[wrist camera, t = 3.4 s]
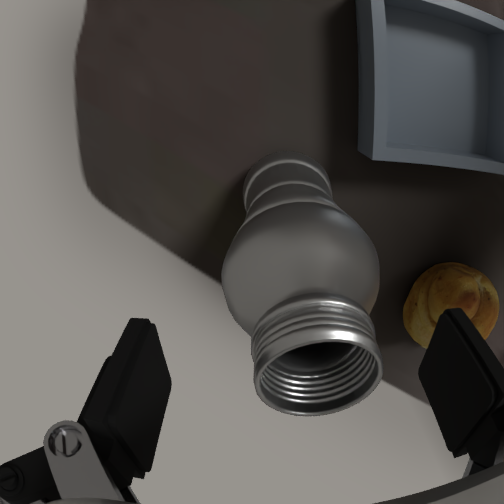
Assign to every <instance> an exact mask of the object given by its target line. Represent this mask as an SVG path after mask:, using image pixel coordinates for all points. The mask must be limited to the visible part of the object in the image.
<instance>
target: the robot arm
mask: <svg viewBox="0 0 504 504" xmlns="http://www.w3.org/2000/svg"><path fill="white" fill-rule="evenodd" d="M418 375H419V379H420V381H421V383H422V386H423V388H424V390H425V393H426V395H427V397H428V400H429V402H430V405H431V407H432V410H433V412H434V414H435V417H436V419H437V422H438V425H439V427H440V430H441V432H442V435H443V438H444V440H445V443H446V446H447V448H448V450H449V451H451V452H452V453H453V456H454V458H456V457H459V456H462V455H465V454H467V453H468V454H469V456H470V458H469V461H468V464H467V467H466V469H465V472H464V475H463V477H462V479H459V480H457V481H454V482H451V483H448V484H445V485H442V486H439V487H436V488H433V489H430V490H426V491H423V492H419V493H416V494H412V495H408V496H405V497H401V498H396V499H392V500H388V501H383V502H379V503H374V504H504V369H503V367H502V365H501V364H500V362H499V361H498V359H497V358H496V356H495V355H494V353H493V352H492V350H491V349H490V347H489V346H488V344H487V343H486V341H485V340H484V338H483V337H482V336H481V334H480V333H479V331H478V330H477V328H476V327H475V326H474V324H473V323H472V322H471V320H470V319H469V317H468V316H467V315H466V313H465V312H464V311H463V310H462V309H461V308H450V309H445V310H444V312H443V314H441V315H440V316H439V319H438V321H437V324H436V327H435V330H434V332H433V335H432V338H431V340H430V343H429V345H428V348H427V350H426V353H425V355H424V358H423V360H422V362H421V365H420V367H419V371H418ZM171 385H172V384H171V377H170V374H169V371H168V367H167V364H166V361H165V357H164V354H163V350H162V347H161V344H160V340H159V336H158V333H157V329H156V326H155V324H153V323H150V321H149V319H143V318H131V319H130V320H129V322H128V324H127V326H126V328H125V330H124V332H123V334H122V336H121V338H120V340H119V342H118V344H117V346H116V348H115V350H114V352H113V354H112V356H109V357H108V358H107V359H106V360H105V362H104V364H103V366H102V368H101V370H100V372H99V374H98V377H97V379H96V381H95V383H94V385H93V387H92V389H91V391H90V394H89V396H88V398H87V400H86V402H85V405H84V407H83V409H82V411H81V414H80V416H79V418H78V421H77V422H74V421H61V422H58V423H56V424H54V425H53V426H52V427H51V428H50V429H49V430H48V431H47V433H46V435H45V437H44V442H43V443H44V446H43V447H41V448H38V449H36V450H34V451H32V452H29V453H27V454H25V455H22V456H20V457H18V458H16V459H13V460H11V461H8V462H6V463H4V464H2V465H1V466H0V504H140V502H139V501H138V499H137V497H136V496H135V494H134V493H133V491H132V489H131V487H130V485H131V483H132V479H133V477H135V478H141V479H144V476H145V472H150V470H151V468H152V464H153V459H154V455H155V451H156V447H157V443H158V439H159V434H160V430H161V426H162V422H163V418H164V414H165V410H166V406H167V403H168V399H169V395H170V391H171Z"/></svg>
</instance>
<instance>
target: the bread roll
mask: <svg viewBox="0 0 504 504" xmlns="http://www.w3.org/2000/svg"><path fill="white" fill-rule="evenodd" d="M450 308H461V309H462V310H463V311H464V312H465V313H466V315H467V316H468V317H469V319H470V320H471V322H472V323H473V324H474V326H475V327H476V328H477V330H478V331H479V333H480V334H481V336H482V337H483V338H484V340H485V339H486V338H487V337H488V335H489V334H490V332H491V331H492V329H493V327H494V326H495V323H496V321H497V318H498V312H499V300H498V295H497V292H496V290H495V288H494V286H493V284H492V282H491V281H490V280H489V279H488V278H487V277H486V276H485V275H484V274H483V273H482V272H480V271H479V270H477V269H475V268H473V267H471V266H468V265H465V264H461V263H456V262H445V263H439V264H435V265H434V266H433V267H431V268H429V269H428V270H426V271H425V272H424V273H422V274H421V276H420V277H419V278H418V279H417V280H416V281H415V283H414V285H413V287H412V289H411V290H410V292H409V295H408V297H407V299H406V302H405V304H404V307H403V321H404V326H405V328H406V330H407V331H408V333H409V334H410V336H411V337H412V338H413V340H414V341H416V342H417V343H418V344H420V345H421V346H422V347H423V348H428V345H429V343H430V340H431V338H432V335H433V332H434V330H435V327H436V324H437V321H438V319H439V316H440V315H441V314H443V312H444V310H445V309H450Z"/></svg>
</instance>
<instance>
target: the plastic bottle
mask: <svg viewBox="0 0 504 504" xmlns="http://www.w3.org/2000/svg"><path fill="white" fill-rule="evenodd" d="M332 197H333V196H332V188H331V183H330V180H329V177H328V175H327V173H326V171H325V170H324V168H323V167H322V166H321V165H320V164H319V163H318V162H317V161H316V160H314V159H313V158H311V157H309V156H307V155H305V154H303V153H298V152H294V151H281V152H275V153H273V154H270V155H267V156H266V157H264V158H262V159H260V160H259V161H258V162H257V163H256V164H255V165H253V167H252V168H251V169H250V171H249V172H248V174H247V176H246V178H245V180H244V185H243V201H244V206H245V210H246V214H247V215H246V217H245V220H244V223H243V224H242V226H241V227H240V229H239V231H238V232H237V234H236V235H235V237H234V238H233V240H232V243H231V245H230V247H229V249H228V252H227V254H226V257H225V259H224V263H223V267H222V272H221V276H222V288H223V291H224V295H225V298H226V301H227V305H228V308H229V311H230V312H231V314H232V316H233V317H234V319H235V321H236V322H237V323H238V324H239V325H240V326H241V327H242V329H243V330H245V331H246V332H247V333H248V334H249V335H250V336H251V338H252V339H251V355H252V358H253V362H254V384H255V389H256V392H257V395H258V396H259V397H260V399H261V400H262V401H263V402H264V403H265V404H266V405H268V406H269V407H271V408H273V409H275V410H277V411H280V412H283V413H286V414H290V415H296V416H320V415H327V414H331V413H335V412H339V411H341V410H344V409H347V408H349V407H351V406H353V405H355V404H357V403H359V402H360V401H362V400H363V399H365V398H366V397H367V396H368V395H370V394H371V392H372V391H374V389H375V388H376V387H377V385H378V384H379V382H380V380H381V378H382V376H383V369H384V367H383V360H382V355H381V352H380V350H379V347H378V345H377V342H376V333H375V328H374V325H373V323H372V321H371V318H370V316H369V314H370V312H371V310H372V308H373V306H374V304H375V301H376V299H377V295H378V291H379V282H380V271H379V260H378V255H377V251H376V249H375V247H374V245H373V243H372V241H371V239H370V237H369V236H368V235H367V234H366V233H365V232H364V230H363V229H362V228H361V227H360V226H359V224H358V223H357V222H356V221H355V220H354V219H353V218H351V217H350V216H349V215H348V214H347V213H345V212H344V211H343V210H342V209H340V208H339V207H338V206H337V205H336V203H335V202H334V201H333V199H332Z"/></svg>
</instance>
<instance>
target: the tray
mask: <svg viewBox="0 0 504 504" xmlns="http://www.w3.org/2000/svg"><path fill="white" fill-rule="evenodd" d="M355 7H356V21H357V39H358V69H359V117H358V149H357V151H359V152H361V153H362V154H364V155H365V156H367V157H368V158H370V159H372V160H379V161H394V162H406V163H417V164H427V165H437V166H446V167H454V168H462V169H469V170H476V171H483V172H490V173H496V174H502V175H504V21H503V20H501V19H499V18H497V17H495V16H492V15H490V14H488V13H486V12H483V11H481V10H479V9H476V8H474V7H471V6H469V5H466V4H463V3H461V2H458V1H455V0H355Z"/></svg>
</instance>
